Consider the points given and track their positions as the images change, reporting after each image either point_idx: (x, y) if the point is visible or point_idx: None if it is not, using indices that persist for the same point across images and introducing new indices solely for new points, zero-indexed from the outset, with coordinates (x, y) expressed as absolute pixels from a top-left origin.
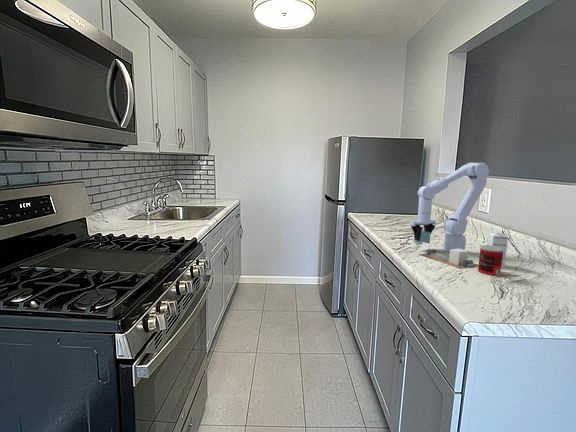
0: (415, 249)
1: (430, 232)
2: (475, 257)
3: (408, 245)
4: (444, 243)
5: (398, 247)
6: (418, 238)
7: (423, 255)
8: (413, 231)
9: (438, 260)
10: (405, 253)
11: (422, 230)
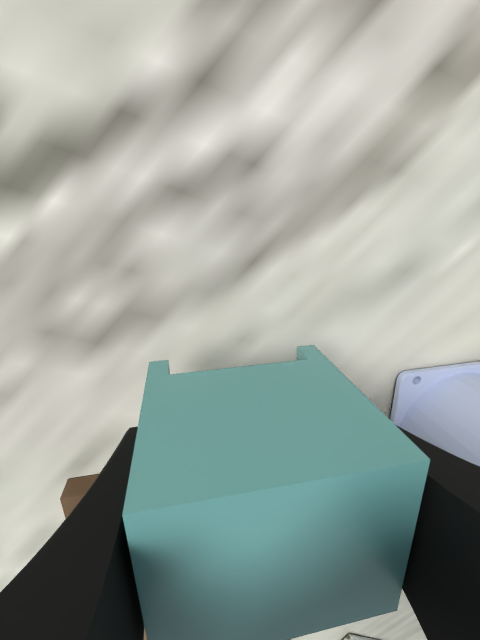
0: (241, 263)
1: (391, 605)
2: None
3: (305, 69)
4: (468, 443)
5: (90, 103)
6: None
7: None
8: (22, 578)
9: None
10: (10, 364)
11: (408, 461)
